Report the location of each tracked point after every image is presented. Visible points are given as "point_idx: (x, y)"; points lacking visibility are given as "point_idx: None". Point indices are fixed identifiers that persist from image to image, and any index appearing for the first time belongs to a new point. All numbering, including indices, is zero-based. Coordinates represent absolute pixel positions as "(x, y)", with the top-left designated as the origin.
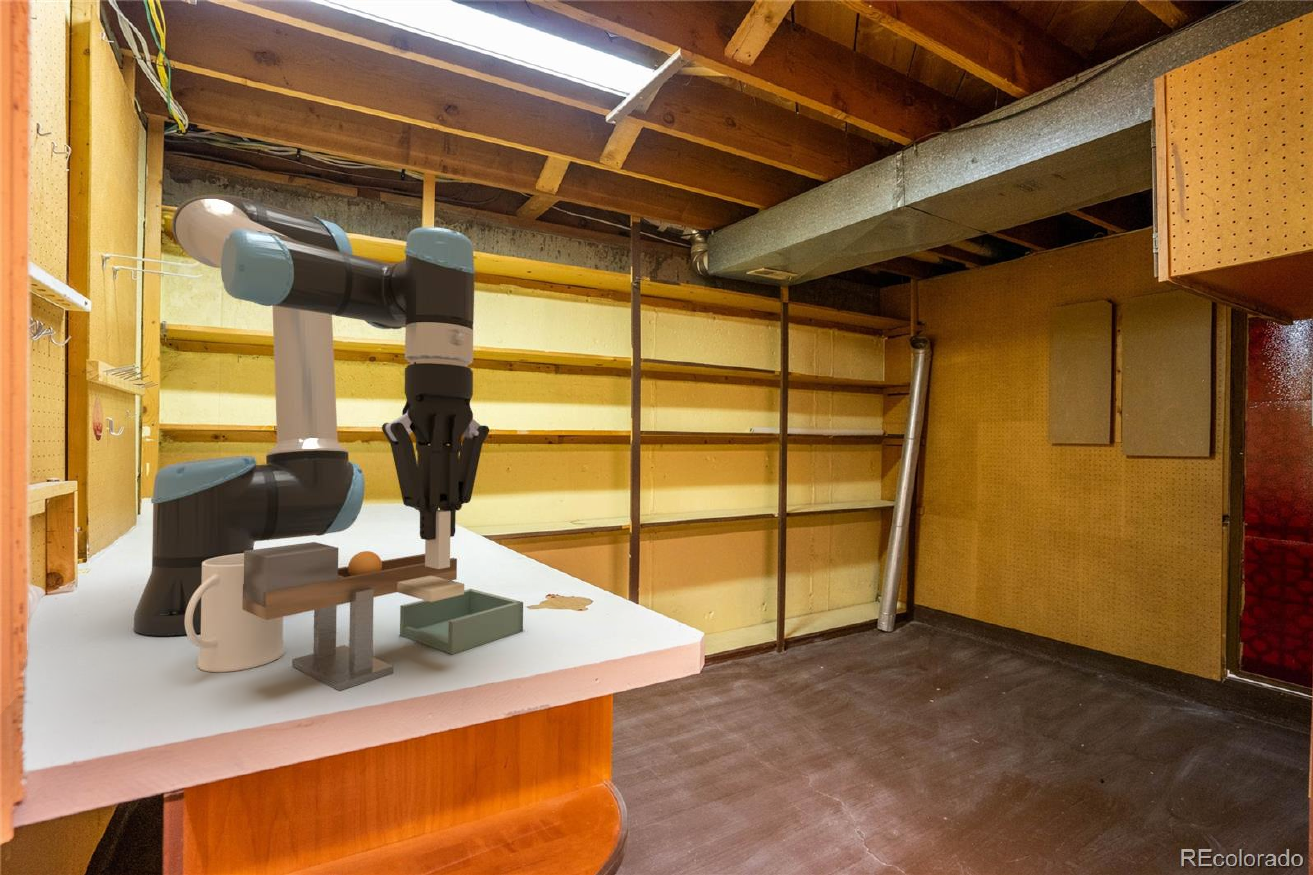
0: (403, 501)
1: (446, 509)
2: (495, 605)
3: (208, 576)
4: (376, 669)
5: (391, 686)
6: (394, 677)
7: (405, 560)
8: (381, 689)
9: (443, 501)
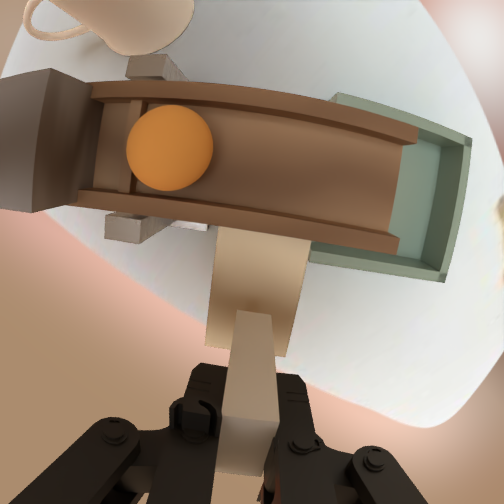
0: (91, 429)
1: (264, 467)
2: (444, 217)
3: None
4: (185, 222)
5: (179, 263)
6: (199, 242)
7: (331, 121)
8: (167, 260)
9: (273, 478)
